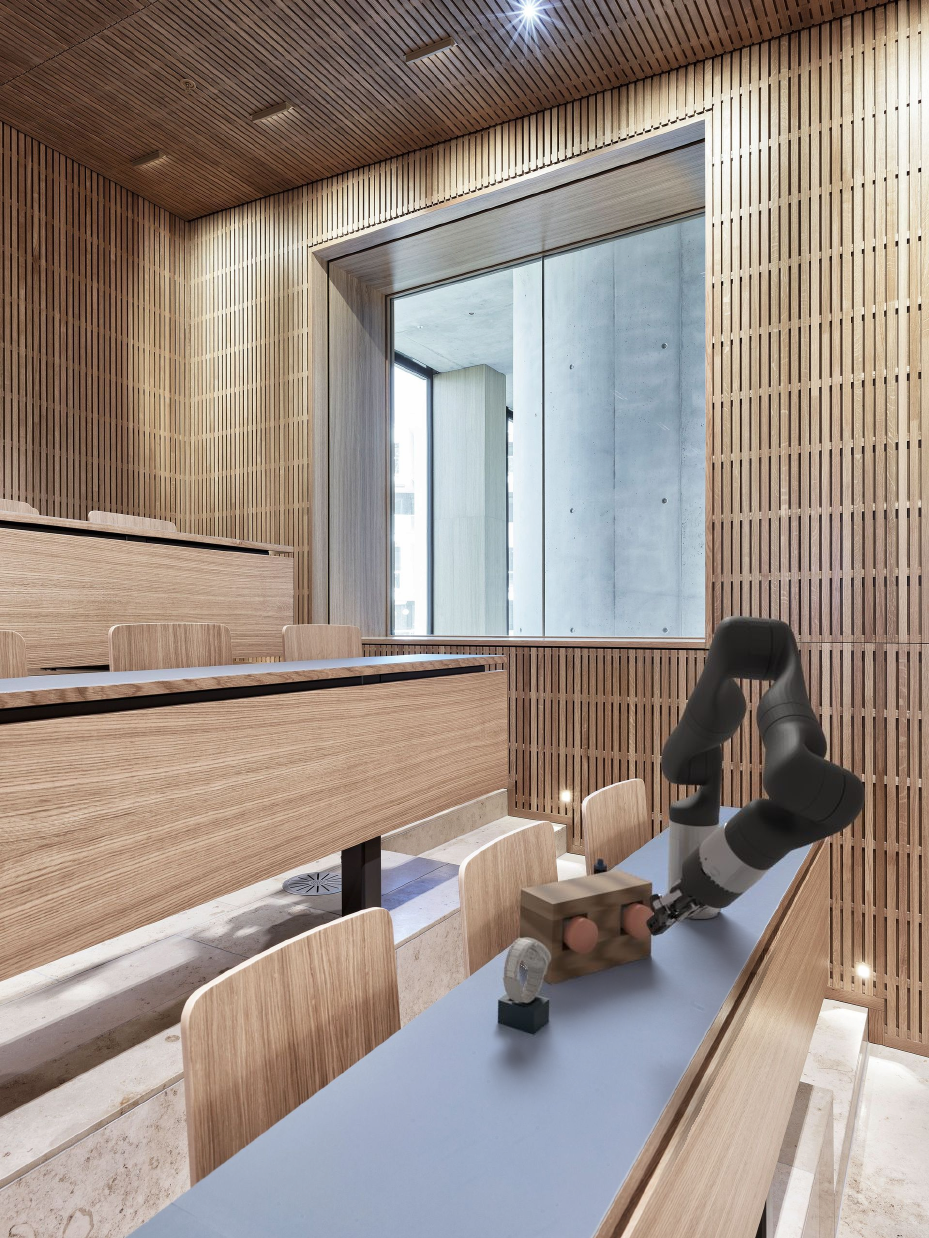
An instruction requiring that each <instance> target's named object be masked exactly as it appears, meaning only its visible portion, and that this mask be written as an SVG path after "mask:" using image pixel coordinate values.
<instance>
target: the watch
mask: <svg viewBox="0 0 929 1238" xmlns="http://www.w3.org/2000/svg"><path fill="white" fill-rule="evenodd" d="M550 960H551V955H550V952H549V951H548V949H547V948H546V947H545V946H544V945H543V944H542V943H540V942H539V941H537V940H535V939H533V938H527V937H525V938H520V937H518V938H517V939H515V940H513V943H512V944H511V945H510V947H509V948H508V951H507V954H506V958H505V961H504V967H503V977H502V979H503V981H502V982H503V985H504V989H505V992H506V993H505V994H504V995H503V996H501V997H499V998H498V1000H497V1024H500V1025H502V1026H505V1027H508V1028H511V1029H514V1030H518V1031H521V1032H523V1033H527V1034H530V1035H532V1036H535V1035H536V1034H537V1033H538V1032H539V1031H540V1030H542V1028H544V1027H545V1026H546V1025H547V1024H548V1023H550V998H549V997H544V996H541V995H539V992H540V989H541V987H542V984H543V981H544V980H543V979H542V978H544V975H546V973H547V969H548V965H549V962H550ZM521 961H522V962H523V963H524V966H525V968H526V969H525V968H524V969H525V970H526V971H528V972H527V977H526V980H525V983H524V985H523V987H522V983H521V982H522V981H521V980H520V979H519V969H520V967H521V966H520V963H521ZM528 968H529V969H528Z"/></svg>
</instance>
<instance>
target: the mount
mask: <svg viewBox="0 0 929 1238" xmlns="http://www.w3.org/2000/svg"><path fill="white" fill-rule="evenodd" d="M652 895H653V882H652V881H649V880H647V879H644V878H641V877H639V876H636V875H633V874H631V873H628V872H626V871H623V870H620V869H613V870H610V871H608V870H607V872H603V873H598V874H594V873H593V874H589V875H584V876H580V877H579V876H578V877H575V878H569V879H565V880H559V881H553V882H549V883H548V882H547V883H544V884H539V885H533V886H529V887H523V888H520V903H519V905H520V906H519V908H520V909H519V910H520V911H519V938H525V937H527V938H533V939H535V940H537V941H539V942H540V943H542V944H543V945H544V946H545V947H546V948H547V949H548V951H549V952H550V955H551V960H550V962H549V965H548V969H547V973H546V975H544V978H542V979H543V981H545V980H546V981H547V982H546V981H545V982H546V983H547V984H549V985H554V984H558V983H562V982H565V981H568V980H571V979H575V978H579V977H582V976H586V975H589V974H593V973H596V972H598V971H599V972H600V971H603V970H607V969H610V968H614V967H616V966H620V964H621V965H623V964H627V962H628V963H631V962H633V961H634V960H635V961H639V960H641V959H645V958H648V957H651V956H652V934H651V932H650V934H649V935H648V936H647V937H645V938H643V939H638V938H636V937H634V936H632V935H630V934H628V933H626V932H625V930H624V928H622V927H620V924H621V905H623V904H627V903H631V904H633V903H639V904H641V905H644V906H646V907H648V908H650V897H651V896H652ZM571 916H575V917H577V916H582V917H584V918H586V919H588V920H591V921H593V922H594V923H595V924H596V926H597V929H598V939H597V942H596V945H595V946H594V948H593V949H592V950H591V951H590V952H589V953H587V954H579V953H577V952H576V951H574V950H572V949H570V948H569V947H568V946H567V945H566V943H565V942H563V941H562V931H563V918H567V917H571ZM630 961H631V962H630ZM520 965H522V966H524V963H523V962H522V961H521V963H520ZM522 966H521V967H522ZM524 967H525V966H524ZM528 969H529V968H528Z"/></svg>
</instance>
